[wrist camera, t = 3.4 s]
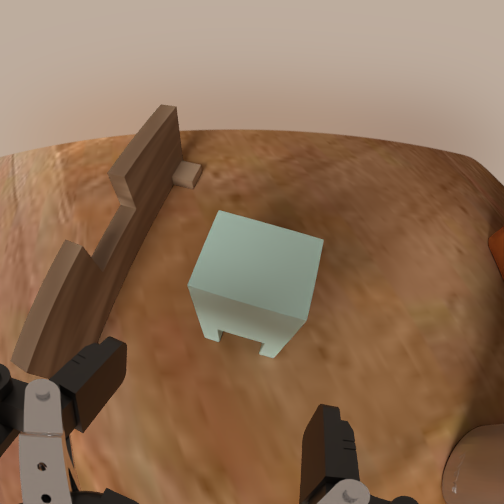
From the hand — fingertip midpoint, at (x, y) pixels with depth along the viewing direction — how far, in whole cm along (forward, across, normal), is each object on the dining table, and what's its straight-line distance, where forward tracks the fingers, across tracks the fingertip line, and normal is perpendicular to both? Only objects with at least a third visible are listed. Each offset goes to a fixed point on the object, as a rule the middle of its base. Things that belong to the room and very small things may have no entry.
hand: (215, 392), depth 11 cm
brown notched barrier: (+14, +12, +2) cm, 19 cm away
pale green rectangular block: (+13, 0, +4) cm, 13 cm away
